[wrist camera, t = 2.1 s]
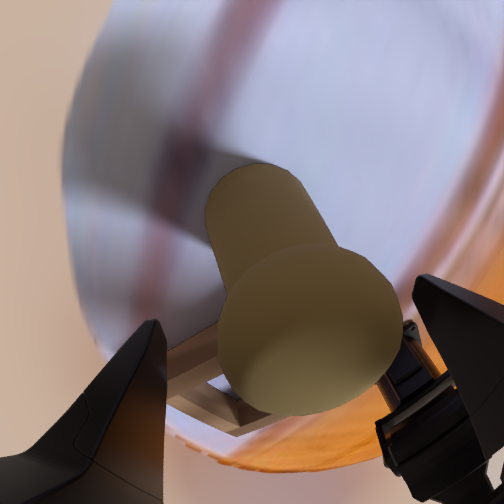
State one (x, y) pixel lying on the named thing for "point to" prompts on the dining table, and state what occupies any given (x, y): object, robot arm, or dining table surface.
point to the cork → (294, 299)
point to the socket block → (208, 388)
